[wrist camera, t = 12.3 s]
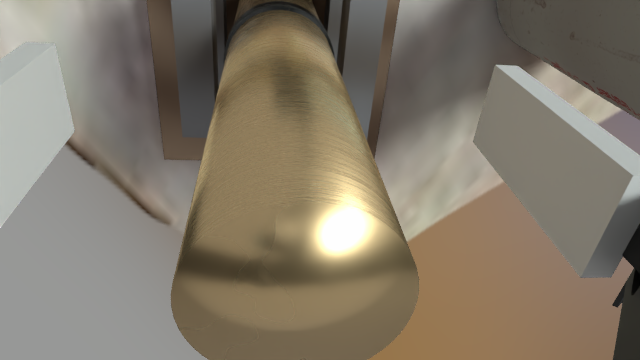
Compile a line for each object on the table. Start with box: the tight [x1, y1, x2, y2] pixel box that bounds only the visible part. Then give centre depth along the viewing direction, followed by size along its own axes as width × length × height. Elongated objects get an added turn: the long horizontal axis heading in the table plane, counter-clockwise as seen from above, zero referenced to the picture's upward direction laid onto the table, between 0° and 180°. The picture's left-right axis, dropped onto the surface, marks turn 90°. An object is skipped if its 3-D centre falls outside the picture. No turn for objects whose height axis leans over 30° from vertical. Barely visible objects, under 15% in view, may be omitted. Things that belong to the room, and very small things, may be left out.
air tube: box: [171, 0, 419, 360], centre depth 17 cm, size 4×4×22 cm
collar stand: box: [147, 0, 400, 160], centre depth 23 cm, size 20×14×9 cm
